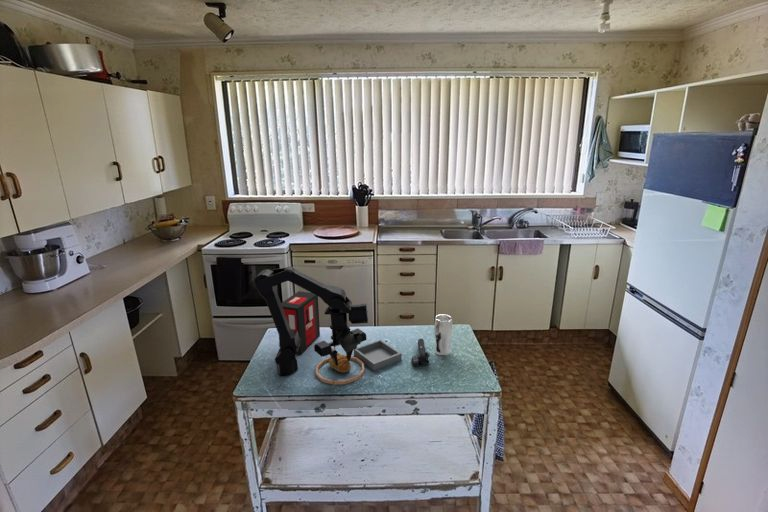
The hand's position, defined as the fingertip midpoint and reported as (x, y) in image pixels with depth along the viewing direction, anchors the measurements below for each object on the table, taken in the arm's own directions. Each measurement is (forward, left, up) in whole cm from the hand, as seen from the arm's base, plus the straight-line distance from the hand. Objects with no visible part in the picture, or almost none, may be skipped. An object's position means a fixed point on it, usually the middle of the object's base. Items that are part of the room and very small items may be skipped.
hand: (342, 362), depth 142 cm
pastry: (-2, 0, -4) cm, 5 cm away
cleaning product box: (-4, +27, -3) cm, 28 cm away
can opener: (+29, -10, -3) cm, 31 cm away
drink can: (+38, -13, -3) cm, 40 cm away
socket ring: (-1, 0, -3) cm, 3 cm away
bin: (+15, -1, -3) cm, 15 cm away
